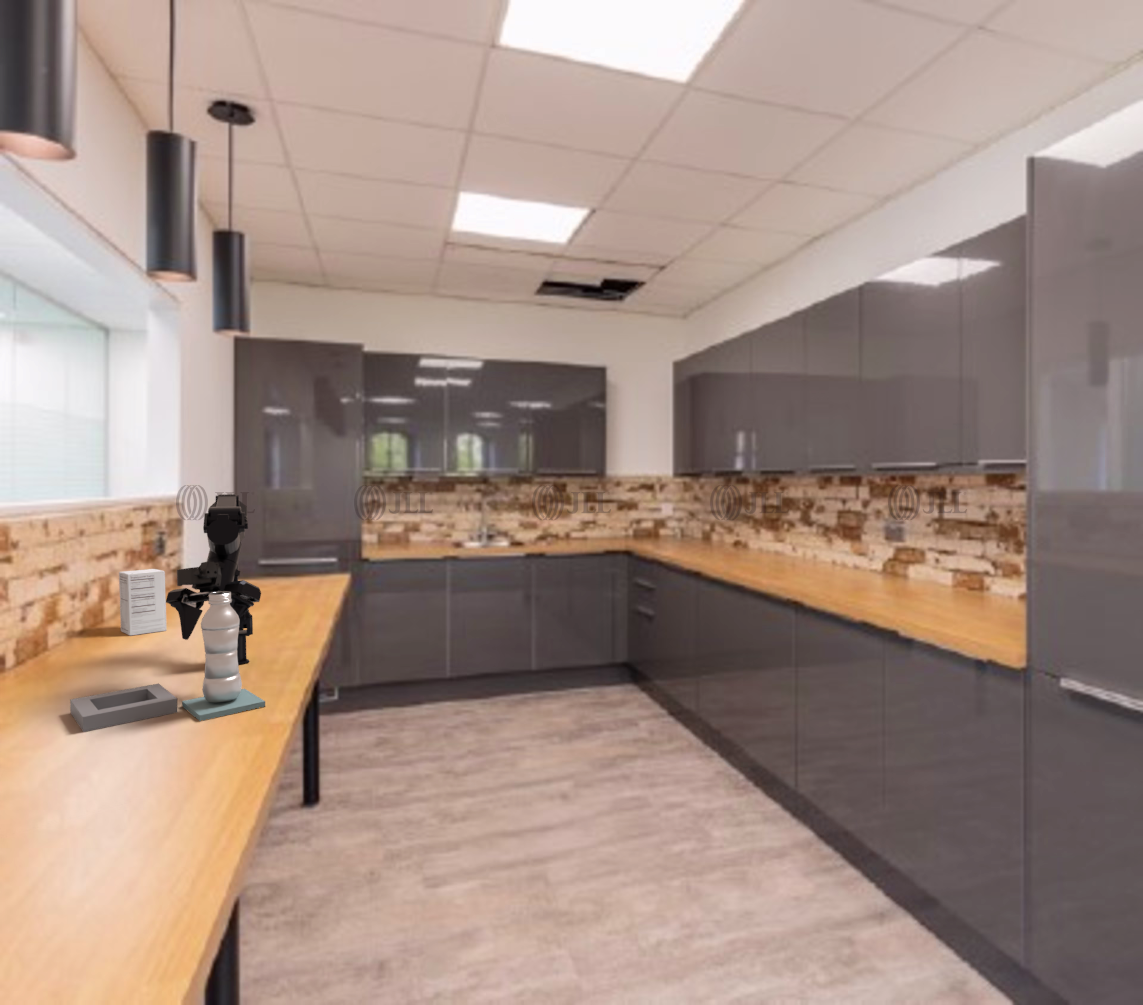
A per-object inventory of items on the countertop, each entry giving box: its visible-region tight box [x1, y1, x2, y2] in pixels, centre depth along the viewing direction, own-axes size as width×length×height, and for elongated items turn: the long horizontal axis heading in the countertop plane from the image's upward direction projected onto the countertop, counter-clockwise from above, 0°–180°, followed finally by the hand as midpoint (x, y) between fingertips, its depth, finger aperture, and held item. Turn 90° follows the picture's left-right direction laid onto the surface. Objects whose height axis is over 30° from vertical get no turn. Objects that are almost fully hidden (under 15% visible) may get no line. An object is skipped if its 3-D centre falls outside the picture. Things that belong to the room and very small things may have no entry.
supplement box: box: [118, 568, 167, 637], centre depth 193 cm, size 10×9×17 cm
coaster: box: [181, 688, 266, 722], centre depth 128 cm, size 11×11×1 cm
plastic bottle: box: [200, 591, 243, 702], centre depth 127 cm, size 6×7×20 cm
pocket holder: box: [69, 682, 178, 733], centre depth 125 cm, size 14×13×2 cm
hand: (203, 637), depth 136 cm, fingers open, 9 cm apart
